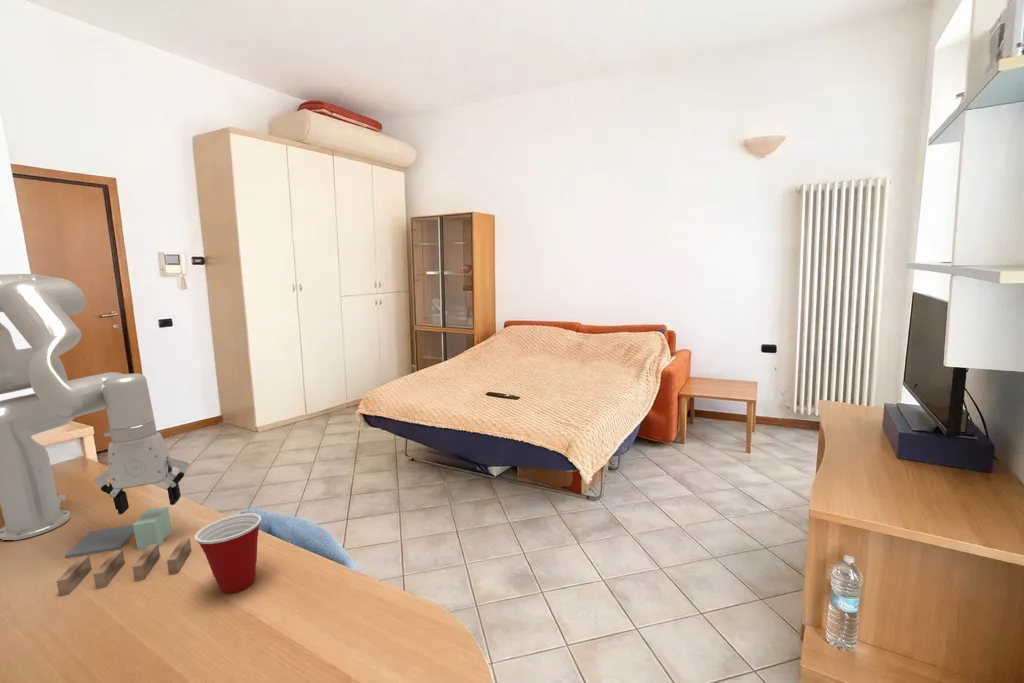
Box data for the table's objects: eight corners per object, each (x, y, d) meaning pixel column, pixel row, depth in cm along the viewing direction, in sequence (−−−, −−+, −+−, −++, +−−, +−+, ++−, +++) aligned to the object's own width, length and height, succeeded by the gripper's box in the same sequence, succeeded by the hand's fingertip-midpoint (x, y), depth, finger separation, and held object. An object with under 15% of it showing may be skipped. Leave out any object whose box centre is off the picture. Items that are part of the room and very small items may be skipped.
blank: (152, 534, 112) (147, 509, 111) (172, 530, 113) (167, 506, 112) (137, 550, 105) (132, 525, 104) (159, 547, 106) (154, 521, 105)
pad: (90, 533, 113) (89, 531, 113) (140, 525, 116) (140, 523, 116) (65, 558, 104) (64, 555, 104) (120, 548, 107) (120, 546, 106)
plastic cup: (258, 559, 100) (250, 504, 98) (277, 581, 92) (269, 522, 90) (197, 585, 93) (187, 526, 91) (212, 612, 85) (202, 548, 83)
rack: (82, 570, 99) (80, 557, 98) (191, 550, 104) (189, 537, 104) (59, 595, 91) (56, 581, 91) (177, 572, 97) (175, 559, 96)
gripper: (76, 444, 99) (93, 523, 101) (174, 430, 103) (188, 506, 106) (95, 433, 106) (111, 507, 108) (186, 420, 110) (199, 491, 113)
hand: (149, 506), depth 107 cm, fingers open, 9 cm apart
